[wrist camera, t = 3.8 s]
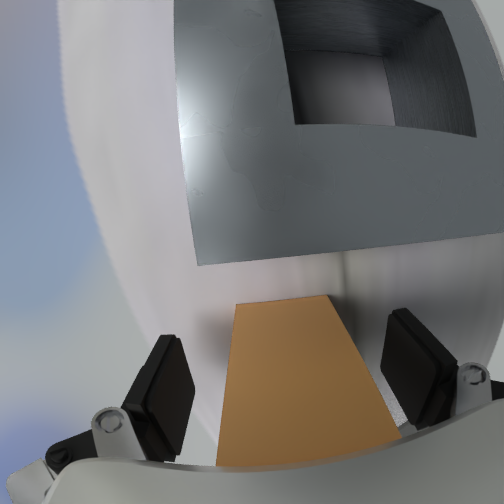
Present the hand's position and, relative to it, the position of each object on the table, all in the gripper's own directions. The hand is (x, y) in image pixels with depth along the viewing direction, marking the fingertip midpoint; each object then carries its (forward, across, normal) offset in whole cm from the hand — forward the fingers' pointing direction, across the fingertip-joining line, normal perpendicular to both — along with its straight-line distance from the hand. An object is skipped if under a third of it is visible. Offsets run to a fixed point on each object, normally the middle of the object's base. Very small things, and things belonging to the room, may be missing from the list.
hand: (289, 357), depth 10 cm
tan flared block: (+2, 0, 0) cm, 2 cm away
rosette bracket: (+2, -3, -18) cm, 18 cm away
